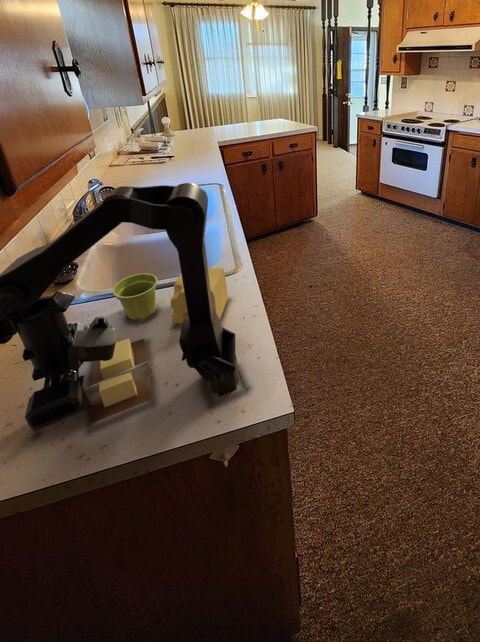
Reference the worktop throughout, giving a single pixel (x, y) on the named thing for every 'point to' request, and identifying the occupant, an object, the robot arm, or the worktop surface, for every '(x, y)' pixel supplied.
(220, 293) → the cheese
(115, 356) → the butter
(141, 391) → the board
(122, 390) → the butter slice
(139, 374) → the knife
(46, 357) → the robot arm
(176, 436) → the worktop surface
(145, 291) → the plant pot
